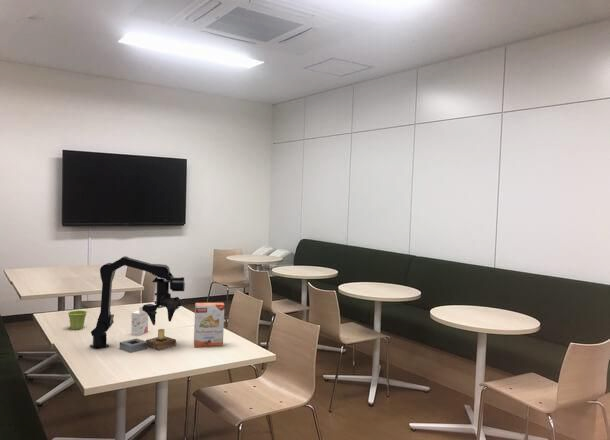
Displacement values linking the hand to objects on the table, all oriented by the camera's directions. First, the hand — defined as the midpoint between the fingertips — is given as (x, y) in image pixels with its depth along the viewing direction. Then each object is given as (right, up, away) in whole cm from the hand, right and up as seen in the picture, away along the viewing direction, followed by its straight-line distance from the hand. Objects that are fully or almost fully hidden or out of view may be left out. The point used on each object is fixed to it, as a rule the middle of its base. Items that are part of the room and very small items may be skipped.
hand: (161, 323), depth 228 cm
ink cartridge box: (-18, -10, +20) cm, 29 cm away
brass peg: (-1, -11, 0) cm, 11 cm away
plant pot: (-53, -9, +25) cm, 59 cm away
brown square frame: (-1, -11, 0) cm, 11 cm away
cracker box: (+22, -12, +4) cm, 25 cm away
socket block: (-12, -11, -5) cm, 17 cm away
